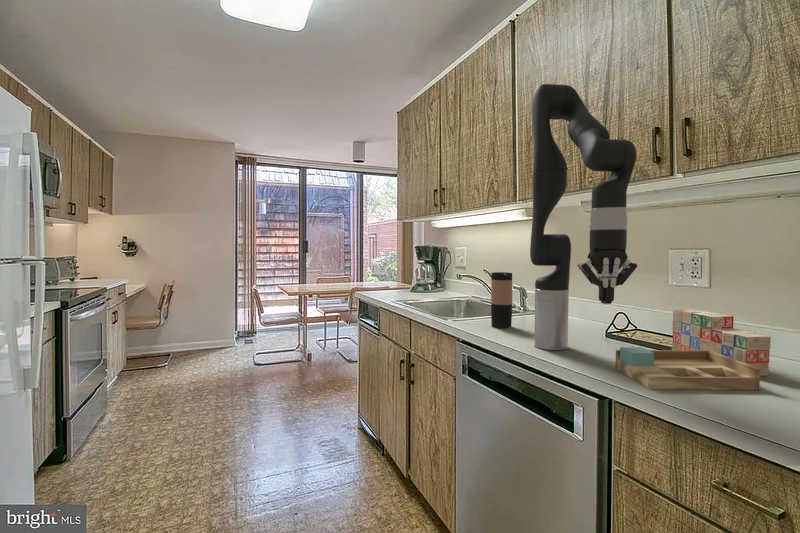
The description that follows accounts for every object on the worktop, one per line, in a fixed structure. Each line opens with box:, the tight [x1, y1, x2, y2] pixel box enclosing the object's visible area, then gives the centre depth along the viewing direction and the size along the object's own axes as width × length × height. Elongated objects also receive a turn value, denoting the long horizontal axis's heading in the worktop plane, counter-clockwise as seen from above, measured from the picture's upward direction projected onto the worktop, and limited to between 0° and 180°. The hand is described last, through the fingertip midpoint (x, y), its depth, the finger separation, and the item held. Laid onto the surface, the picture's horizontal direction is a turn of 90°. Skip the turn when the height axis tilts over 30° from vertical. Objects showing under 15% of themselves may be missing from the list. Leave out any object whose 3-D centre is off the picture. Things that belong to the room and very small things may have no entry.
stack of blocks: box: [671, 308, 772, 377], centre depth 99 cm, size 21×6×12 cm, turn 5°
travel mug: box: [490, 271, 513, 329], centre depth 144 cm, size 8×8×20 cm
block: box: [619, 346, 654, 366], centre depth 91 cm, size 5×5×3 cm
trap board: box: [615, 349, 761, 391], centre depth 87 cm, size 14×22×4 cm, turn 88°
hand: (606, 303), depth 90 cm, fingers closed
